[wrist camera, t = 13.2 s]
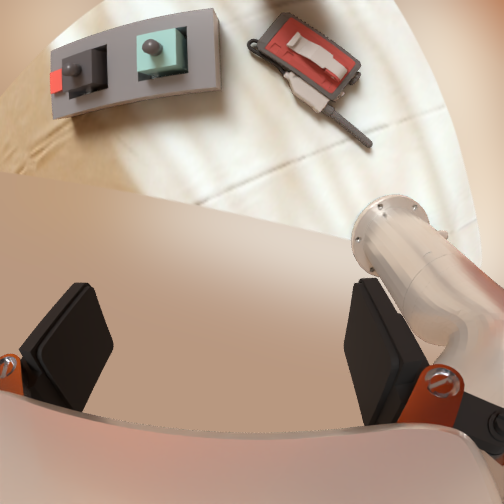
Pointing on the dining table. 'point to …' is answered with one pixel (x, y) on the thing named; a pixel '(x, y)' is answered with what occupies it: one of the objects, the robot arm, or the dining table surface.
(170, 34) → the plug
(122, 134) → the dining table surface
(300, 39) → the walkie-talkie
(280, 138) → the dining table surface
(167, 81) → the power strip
